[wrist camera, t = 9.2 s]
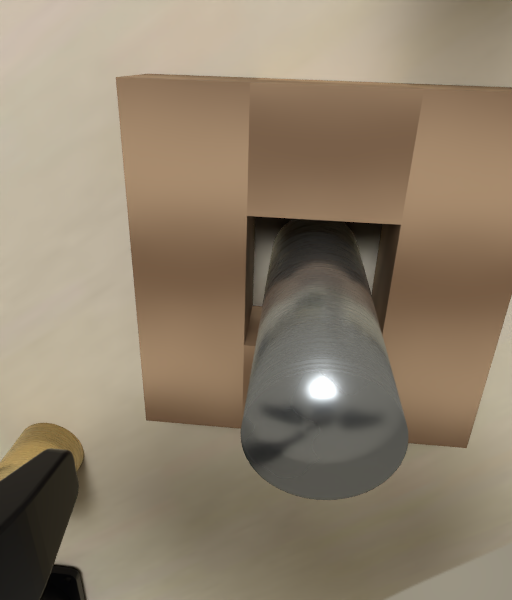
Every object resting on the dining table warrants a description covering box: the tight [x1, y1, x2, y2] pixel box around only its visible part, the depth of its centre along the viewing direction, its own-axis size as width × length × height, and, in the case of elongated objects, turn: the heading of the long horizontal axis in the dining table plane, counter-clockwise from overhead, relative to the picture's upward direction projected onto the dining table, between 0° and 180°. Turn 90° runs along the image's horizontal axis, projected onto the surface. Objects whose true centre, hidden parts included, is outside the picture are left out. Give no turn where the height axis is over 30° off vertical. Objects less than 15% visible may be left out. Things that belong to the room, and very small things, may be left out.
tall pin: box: [241, 219, 408, 500], centre depth 14 cm, size 3×3×10 cm
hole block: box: [116, 74, 512, 448], centre depth 17 cm, size 12×12×3 cm
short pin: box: [0, 423, 84, 481], centre depth 22 cm, size 3×3×4 cm
